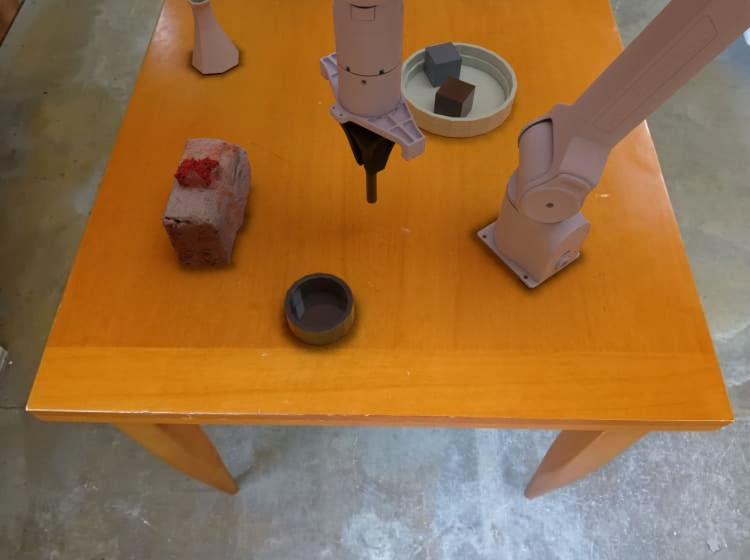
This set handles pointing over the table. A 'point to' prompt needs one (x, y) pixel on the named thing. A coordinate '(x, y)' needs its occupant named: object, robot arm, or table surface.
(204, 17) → the flask
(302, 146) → the table surface
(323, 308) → the holder
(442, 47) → the slate block
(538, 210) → the robot arm
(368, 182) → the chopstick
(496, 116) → the bowl
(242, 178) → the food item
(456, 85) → the walnut block
